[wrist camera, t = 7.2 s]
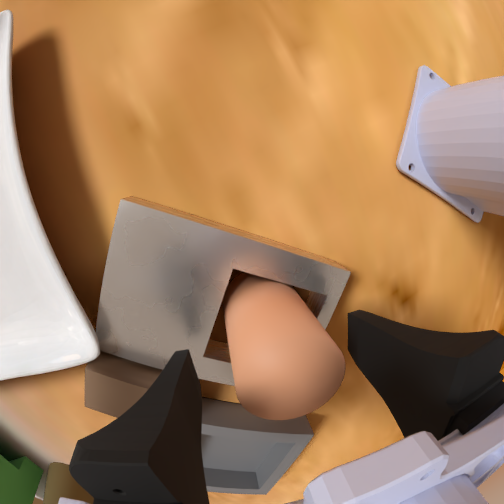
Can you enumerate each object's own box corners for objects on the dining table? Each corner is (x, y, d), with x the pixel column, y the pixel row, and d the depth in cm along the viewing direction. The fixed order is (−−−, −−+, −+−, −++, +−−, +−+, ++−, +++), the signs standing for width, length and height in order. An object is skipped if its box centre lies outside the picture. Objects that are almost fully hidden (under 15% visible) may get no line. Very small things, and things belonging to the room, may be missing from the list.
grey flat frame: (335, 261, 16) (351, 272, 14) (283, 374, 18) (291, 394, 16) (131, 196, 14) (120, 198, 12) (104, 330, 15) (94, 348, 13)
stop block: (182, 358, 16) (179, 396, 13) (173, 392, 17) (169, 431, 14) (103, 334, 15) (85, 368, 12) (100, 371, 16) (84, 406, 12)
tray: (304, 411, 19) (314, 434, 17) (261, 473, 21) (266, 494, 18) (181, 392, 17) (179, 419, 15) (160, 461, 19) (159, 483, 16)
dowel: (305, 282, 16) (364, 348, 10) (275, 341, 17) (311, 424, 10) (239, 257, 15) (265, 320, 9) (212, 321, 16) (218, 410, 9)
